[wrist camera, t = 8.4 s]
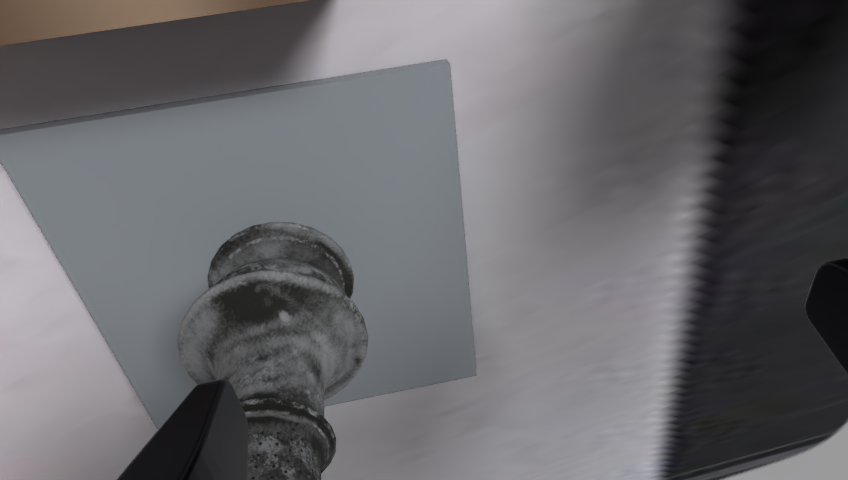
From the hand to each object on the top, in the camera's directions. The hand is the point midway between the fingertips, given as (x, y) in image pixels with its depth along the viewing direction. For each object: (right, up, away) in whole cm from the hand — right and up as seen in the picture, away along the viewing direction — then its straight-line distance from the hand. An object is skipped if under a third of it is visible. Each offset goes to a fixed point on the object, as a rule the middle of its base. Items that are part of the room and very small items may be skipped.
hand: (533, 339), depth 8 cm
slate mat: (-7, 0, +13) cm, 14 cm away
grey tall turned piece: (-7, 0, +12) cm, 14 cm away
